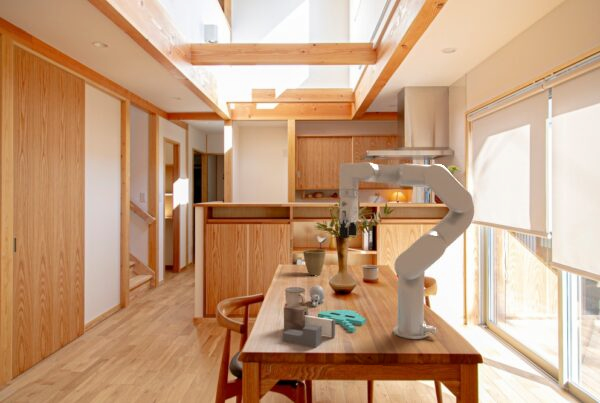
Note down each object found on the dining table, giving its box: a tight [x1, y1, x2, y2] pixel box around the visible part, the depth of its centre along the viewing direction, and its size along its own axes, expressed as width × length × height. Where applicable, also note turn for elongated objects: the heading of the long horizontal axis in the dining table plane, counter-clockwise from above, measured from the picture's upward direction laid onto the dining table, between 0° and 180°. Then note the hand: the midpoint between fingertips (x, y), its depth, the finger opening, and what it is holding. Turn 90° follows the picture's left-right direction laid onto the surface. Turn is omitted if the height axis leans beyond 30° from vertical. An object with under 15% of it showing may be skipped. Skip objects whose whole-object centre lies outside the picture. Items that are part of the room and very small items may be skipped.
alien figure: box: [317, 308, 367, 333], centre depth 158 cm, size 20×2×20 cm
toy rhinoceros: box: [309, 284, 325, 308], centre depth 183 cm, size 7×12×8 cm, turn 165°
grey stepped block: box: [282, 324, 323, 349], centre depth 135 cm, size 13×5×6 cm, turn 64°
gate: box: [304, 315, 336, 338], centre depth 142 cm, size 13×2×6 cm, turn 64°
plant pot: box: [302, 249, 326, 276], centre depth 251 cm, size 15×15×16 cm
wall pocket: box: [283, 303, 309, 332], centre depth 146 cm, size 8×5×9 cm, turn 64°
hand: (348, 236), depth 153 cm, fingers open, 9 cm apart
